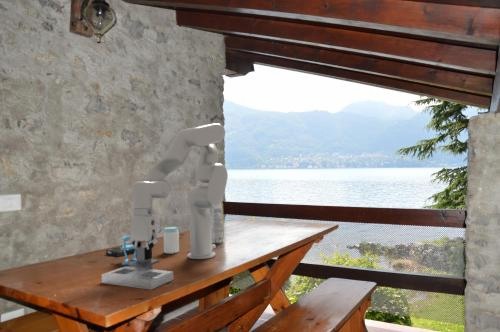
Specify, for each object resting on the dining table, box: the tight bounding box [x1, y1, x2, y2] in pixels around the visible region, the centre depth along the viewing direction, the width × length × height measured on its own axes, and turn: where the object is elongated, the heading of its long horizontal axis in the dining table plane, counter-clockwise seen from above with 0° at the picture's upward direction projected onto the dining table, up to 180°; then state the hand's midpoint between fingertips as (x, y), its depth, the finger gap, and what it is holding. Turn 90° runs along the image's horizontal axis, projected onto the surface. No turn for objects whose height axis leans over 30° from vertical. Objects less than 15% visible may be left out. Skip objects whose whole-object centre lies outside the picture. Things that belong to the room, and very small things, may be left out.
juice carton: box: [209, 202, 225, 244], centre depth 207 cm, size 9×8×24 cm
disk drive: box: [105, 246, 135, 258], centre depth 187 cm, size 10×3×15 cm
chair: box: [121, 234, 137, 266], centre depth 167 cm, size 8×8×12 cm
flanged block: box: [127, 244, 160, 269], centre depth 153 cm, size 8×8×9 cm
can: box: [162, 226, 180, 255], centre depth 184 cm, size 7×7×12 cm
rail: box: [101, 265, 174, 291], centre depth 138 cm, size 12×22×3 cm, turn 65°
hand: (143, 258), depth 153 cm, fingers closed on flanged block, 4 cm apart
